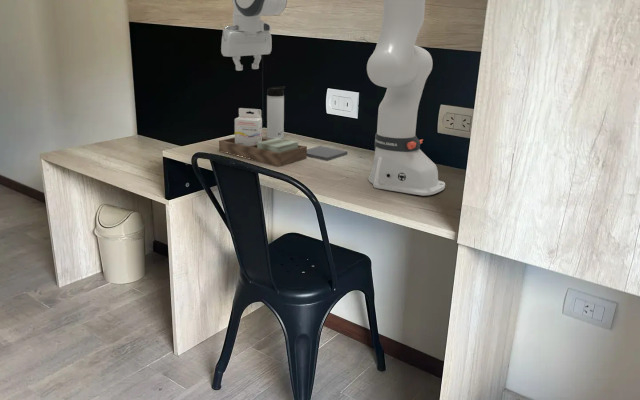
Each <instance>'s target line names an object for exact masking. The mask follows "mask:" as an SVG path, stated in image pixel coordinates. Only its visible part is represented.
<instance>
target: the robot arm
mask: <svg viewBox="0 0 640 400" xmlns="http://www.w3.org/2000/svg"><path fill="white" fill-rule="evenodd" d="M287 3H288V0H232V4H233V12H232V25H227V26H225V27H224V28H223V30H222V36H221V46H220V48H221V49H220V52H221V55H222V56H223V57H231V58H232V61H233V63H234V65H235V71H238V72H239V71H243V70H244V68H243V67H244V65H243V64H241V61H240V60H241V57H244V56H245V57H247V56H248V57H249V56H253V58H254V60H253V63H251V69H252V70H258V69H259V68H260V66H259V65H260V62H261V60H262V56H263V55H270V54H271V52H272V49H273V48H272V46H273V45H272V42H273V41H272V34H271V33H270V32H271V31H272V25H271V24H269V23H267V22H265V21H264V20H262V19H261V17H262V16H264V17H265V16H277V15H280V14H282V13H283V12H284V11H285V9H286V7H287V5H288V4H287ZM425 9H426V0H383V10H382V11H383V13H382V22H381V28H380V30H379V31H380V33H379V36H378V39H377V42H376V46H375V49H374V50H373V53H372V54H371V55H370V57H369V58H368V61H367V64H366V73H367V76H368V78H369V80H370V81H371V82H372V83H373V84H374V85H376V86H378V87H383V88H386V92H385V94H384V97H383V98H382V100H381V101H380V103H379V106H378V110H377V111H378V112H377V113H378V114H377V123H376V124H377V125H376V126H377V127H376V129H377V130H376V133H375V134H374V135H375V136H374V156H373V161H372V168H371V171H370V173H369V176H368V181H369V183H371V185H372V186H373V187H374V188H375V189H381V190H386V191H392V192H398V193H403V194H404V193H405V194H410V195H416V196H417V195H418V196H423V197H424V196H431V195H435V194H437V193H440V192H442V191H443V190H444V189H445V188H446V183H445V182H444V181H442V180H439V171H438V167H437V165H436V164H435V162H433V161H432V160H431V159H430V158H429V157H428V156H427V155H426V154H425V153H424V152H423V151H422V149H420V148H421V144H423V141H424V139H423V138H422V139H419V138H418V137H417V135H416V131H417V130H416V129H417V120H418V119H417V118H418V110H419V105H420V101H421V98H422V95H423V90H424V88H425V84H426V82H427V79H428V77H429V75H430V74H431V72H432V70H433V61H434V60H433V58H432V55H431V53H430V52H429V51H427V50H426V49H425V48H423V47H421V46H418V45H416V43H417V42H416V41H417V38H418V34H419V32H420V29H421V28H422V27H423V24H424V21H425V12H426V11H425Z"/></svg>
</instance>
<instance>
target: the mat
mask: <svg viewBox="0 0 640 400" xmlns="http://www.w3.org/2000/svg"><path fill="white" fill-rule="evenodd" d="M346 155H348V151H347V150H344V149H343V150H342V149H337V148H332V147H329V146H328V147H327V146H322V145H319V146H314V147H312V148H307V158H313V159H318V160H322V161H326V162H327V161H331V160H334V159H337V158H340V157H344V156H346Z"/></svg>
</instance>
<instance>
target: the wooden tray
mask: <svg viewBox="0 0 640 400" xmlns="http://www.w3.org/2000/svg"><path fill="white" fill-rule="evenodd" d="M267 140H271V139H268V138H266V137H263V136H262V142H263V141H267ZM307 149H308V146H307V145H302V144H298V148H296V149H292V150H288V151H285V152H281V153H277V152H272V151H268V150H263V149H259V148H257V145H253V146H245V145H240V144H236V143H235V136H234V137H230V138H225V139H220V140H218V151H219V150H220V151H224V152H228V153H231V154H235V155H239V156H243V157H246V158H245V159H247V158H250V159H249V160H251V159H253V160H252V161H254V160H256V161H255V162H259V161H260V162H259V163H263V162H264V163H263V164H267V163H268V164H267V165H270V166H276V167H282V166H285V165H288V164H293V163H296V162H299V161H302V160H305V159H307V158H308V156H307ZM220 151H219V152H220ZM224 152H223V153H224ZM228 153H227V154H228ZM231 154H230V155H231ZM235 155H234V156H235ZM239 156H238V157H239ZM243 157H242V158H243Z"/></svg>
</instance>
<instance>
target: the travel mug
mask: <svg viewBox="0 0 640 400" xmlns="http://www.w3.org/2000/svg"><path fill="white" fill-rule="evenodd" d="M266 89H267V88H266ZM284 89H286V86H274V87H273V86H272V87H268V89H267V91H266V93H267V94H266V133H267V136H266V137H267V139H275V138H280V139H285V138H284V137H285V136H284V135H285V133H284V132H285V130H284V129H285V128H284V126H285V125H284V124H285V123H284V122H285V91H284Z"/></svg>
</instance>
